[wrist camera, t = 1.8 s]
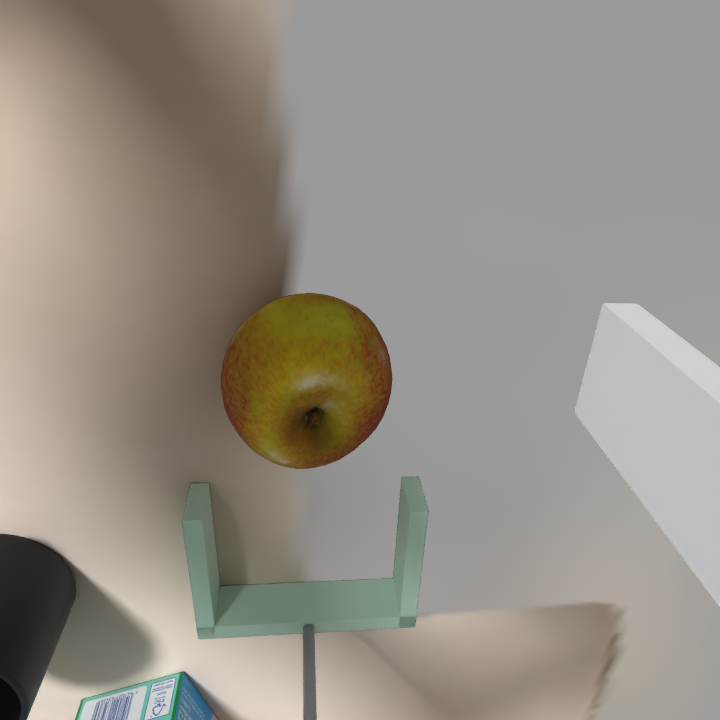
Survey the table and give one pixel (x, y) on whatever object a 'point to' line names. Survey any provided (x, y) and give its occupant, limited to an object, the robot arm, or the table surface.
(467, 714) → the table surface
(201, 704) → the milk carton
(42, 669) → the mug
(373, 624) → the long-handled green u-channel
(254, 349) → the fruit
